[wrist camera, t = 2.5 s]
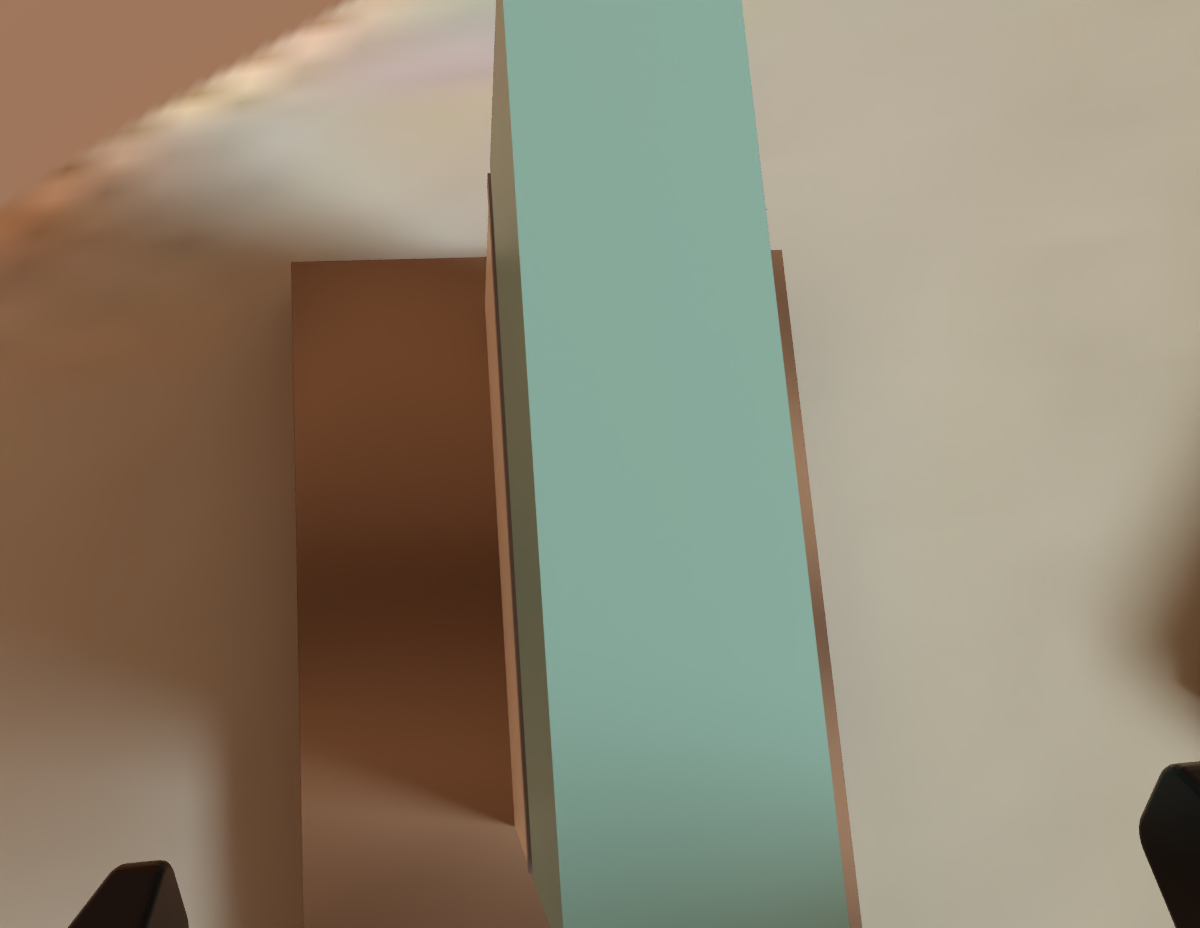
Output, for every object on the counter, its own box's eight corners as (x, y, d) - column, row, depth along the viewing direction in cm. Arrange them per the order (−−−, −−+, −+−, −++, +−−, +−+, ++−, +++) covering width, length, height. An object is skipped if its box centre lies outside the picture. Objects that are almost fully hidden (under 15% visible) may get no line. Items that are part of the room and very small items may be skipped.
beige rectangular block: (652, 813, 20) (719, 856, 14) (512, 826, 19) (529, 874, 14) (609, 300, 22) (655, 170, 16) (483, 304, 21) (487, 173, 16)
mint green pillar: (723, 858, 14) (850, 940, 9) (533, 878, 14) (565, 971, 9) (656, 162, 16) (734, -63, 11) (489, 163, 16) (499, -67, 11)
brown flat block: (845, 1002, 21) (874, 1024, 19) (318, 1065, 20) (306, 1095, 18) (762, 277, 24) (781, 249, 22) (302, 290, 23) (291, 261, 21)
